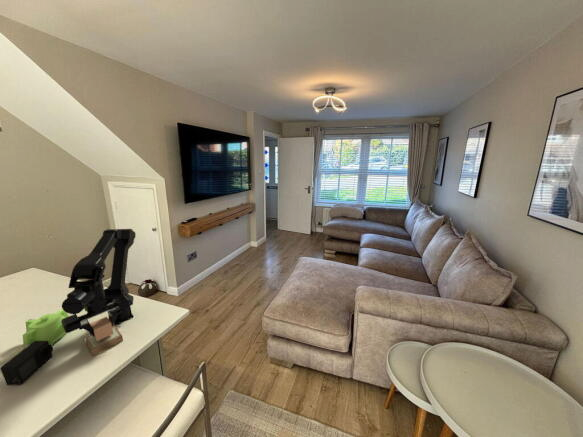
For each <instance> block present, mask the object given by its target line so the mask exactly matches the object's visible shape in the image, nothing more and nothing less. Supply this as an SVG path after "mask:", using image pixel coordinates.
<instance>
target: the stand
mask: <svg viewBox="0 0 583 437" xmlns="http://www.w3.org/2000/svg"><path fill="white" fill-rule="evenodd" d="M115 325H116V324H115V323H114V324H113V327H112V329H113V334H112V335H109V336H107V337H105V338H103V339H101V340H99V341H96V339H95V338H94V337H93V336H92V335H91V334H90V335H87V336H84V340H85V341H84V342H85V345H86V346H87V347H88V349H89V351H90V352H91V355H92V356H93V357H95V356H96V355H98V354H100V353H102V352H104V351H106V350H108V349H110V348H112V347H114V346H116V345H117V344H120V343H121V342H123V341H124V338H123V337H124V336H123V334H122V333H121V332H120V331H119V329H118V328H117V327H116V326H115Z"/></svg>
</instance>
